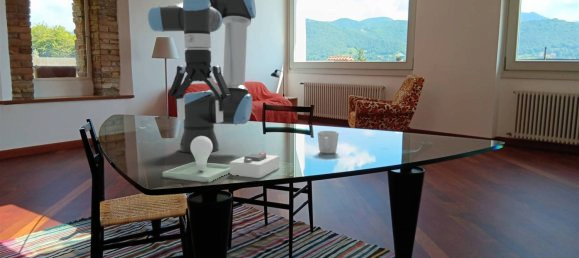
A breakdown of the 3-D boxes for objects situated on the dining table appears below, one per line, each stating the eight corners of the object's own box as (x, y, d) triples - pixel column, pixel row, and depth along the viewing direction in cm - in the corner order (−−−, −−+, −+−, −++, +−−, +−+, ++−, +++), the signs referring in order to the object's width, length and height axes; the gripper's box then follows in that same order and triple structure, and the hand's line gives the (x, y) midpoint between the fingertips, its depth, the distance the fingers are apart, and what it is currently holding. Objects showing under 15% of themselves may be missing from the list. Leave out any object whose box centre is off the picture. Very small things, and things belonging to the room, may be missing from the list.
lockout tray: (162, 177, 124) (162, 172, 124) (194, 165, 139) (194, 161, 139) (208, 182, 118) (208, 177, 118) (237, 170, 133) (236, 165, 133)
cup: (336, 156, 155) (336, 135, 154) (315, 155, 157) (315, 134, 155) (339, 151, 165) (339, 131, 164) (318, 150, 167) (319, 130, 166)
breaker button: (244, 169, 130) (244, 156, 130) (252, 165, 135) (251, 153, 134) (259, 170, 128) (259, 157, 128) (266, 167, 133) (266, 154, 132)
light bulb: (191, 168, 131) (191, 134, 130) (212, 169, 132) (213, 134, 131) (188, 174, 125) (189, 137, 123) (211, 174, 126) (212, 138, 124)
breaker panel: (230, 174, 127) (229, 159, 126) (251, 165, 140) (251, 151, 139) (259, 178, 123) (259, 162, 123) (279, 168, 136) (279, 153, 135)
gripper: (154, 49, 125) (158, 120, 128) (228, 48, 115) (230, 124, 119) (171, 50, 132) (173, 117, 135) (241, 49, 122) (242, 121, 126)
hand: (200, 121), depth 127 cm, fingers open, 13 cm apart
